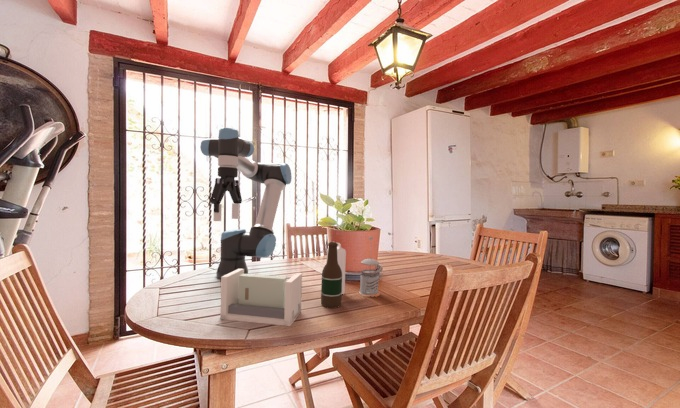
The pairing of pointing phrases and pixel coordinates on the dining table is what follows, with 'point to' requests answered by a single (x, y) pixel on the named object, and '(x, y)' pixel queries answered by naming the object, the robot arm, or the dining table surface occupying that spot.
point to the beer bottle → (331, 279)
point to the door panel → (262, 290)
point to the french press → (369, 287)
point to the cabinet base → (234, 296)
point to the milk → (341, 263)
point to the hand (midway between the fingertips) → (226, 219)
